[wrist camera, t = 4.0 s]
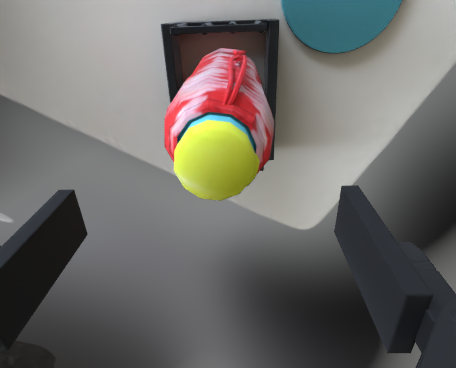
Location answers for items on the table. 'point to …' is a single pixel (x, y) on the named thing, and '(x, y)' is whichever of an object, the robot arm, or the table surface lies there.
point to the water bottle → (219, 126)
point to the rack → (175, 29)
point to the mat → (338, 22)
